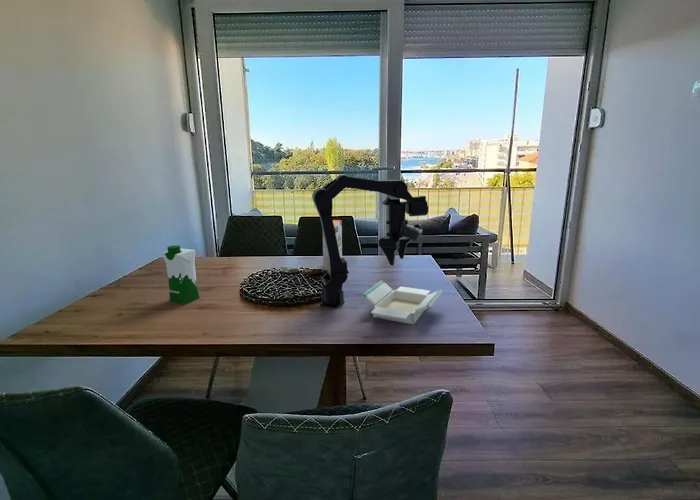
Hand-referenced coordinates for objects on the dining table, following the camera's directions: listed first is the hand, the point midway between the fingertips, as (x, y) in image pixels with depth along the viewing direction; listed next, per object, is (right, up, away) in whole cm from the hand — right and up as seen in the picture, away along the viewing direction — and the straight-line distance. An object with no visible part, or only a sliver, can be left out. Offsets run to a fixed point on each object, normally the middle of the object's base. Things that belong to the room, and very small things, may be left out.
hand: (397, 261), depth 137 cm
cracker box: (-24, -4, +43) cm, 50 cm away
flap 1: (-5, -12, -6) cm, 14 cm away
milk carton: (-76, -14, +4) cm, 77 cm away
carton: (+1, -16, -8) cm, 18 cm away
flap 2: (+7, -13, -12) cm, 19 cm away
